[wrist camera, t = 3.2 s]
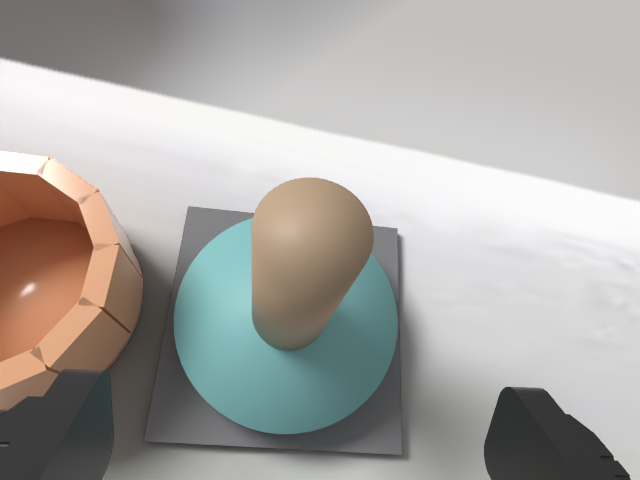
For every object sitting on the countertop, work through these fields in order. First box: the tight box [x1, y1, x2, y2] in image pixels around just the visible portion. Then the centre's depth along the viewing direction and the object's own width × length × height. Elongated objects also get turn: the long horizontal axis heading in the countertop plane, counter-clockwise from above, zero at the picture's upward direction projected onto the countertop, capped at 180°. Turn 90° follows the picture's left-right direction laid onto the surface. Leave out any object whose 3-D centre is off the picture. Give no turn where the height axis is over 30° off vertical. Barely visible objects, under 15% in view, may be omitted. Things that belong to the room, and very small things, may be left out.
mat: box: [144, 206, 402, 455], centre depth 20 cm, size 10×10×1 cm
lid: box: [174, 178, 398, 434], centre depth 15 cm, size 9×9×9 cm
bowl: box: [0, 151, 143, 411], centre depth 17 cm, size 9×9×4 cm
